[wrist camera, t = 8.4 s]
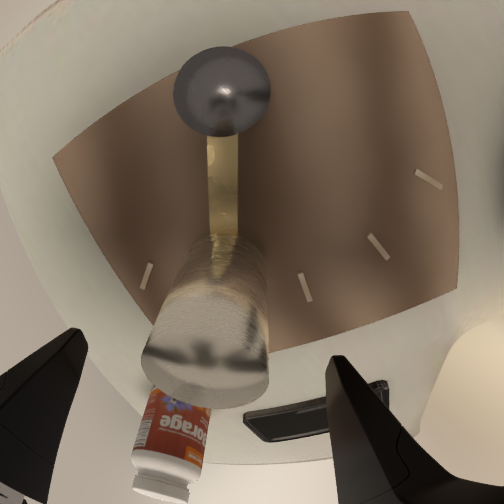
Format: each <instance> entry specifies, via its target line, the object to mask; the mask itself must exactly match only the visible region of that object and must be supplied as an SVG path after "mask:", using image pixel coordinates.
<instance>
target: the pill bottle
mask: <svg viewBox="0 0 504 504" xmlns="http://www.w3.org/2000/svg"><path fill="white" fill-rule="evenodd" d="M210 413H211V408H204V407H198V406H194V405H190V404H187V403H184V402H181V401H179V400H177V399H174V398H172V397H170V396H169V395H167V394H165V393H164V392H162V391H161V390H159V389H158V388H157V387H154V388H153V389H152V391H151V394H150V396H149V399H148V402H147V406H146V409H145V412H144V415H143V418H142V421H141V425H140V428H139V431H138V435H137V438H136V441H135V444H134V447H133V451H132V455H131V461H132V463H133V465H134V467H135V468H136V469H137V470H138V471H139V473H138V475H135V478H134V482H133V486H132V489H133V490H134V491H136V492H138V493H141V494H143V495H146V496H149V497H152V498H155V499H159V500H163V501H167V502H172V503H178V504H187V503H188V498H189V494H190V493H189V492H188V491H189V489H187V485H188V484H190V483H193V482H195V481H197V480H198V479H199V477H200V474H201V469H202V463H203V457H204V450H205V444H206V437H207V431H208V425H209V419H210Z"/></svg>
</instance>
